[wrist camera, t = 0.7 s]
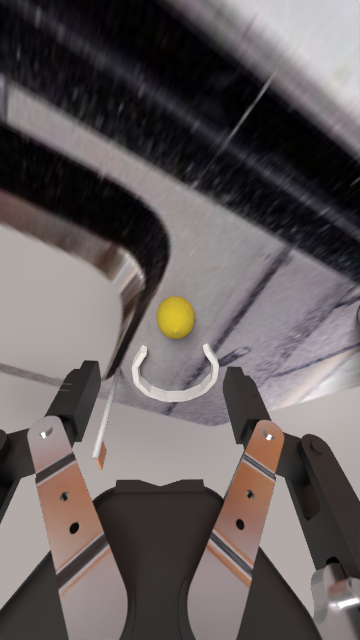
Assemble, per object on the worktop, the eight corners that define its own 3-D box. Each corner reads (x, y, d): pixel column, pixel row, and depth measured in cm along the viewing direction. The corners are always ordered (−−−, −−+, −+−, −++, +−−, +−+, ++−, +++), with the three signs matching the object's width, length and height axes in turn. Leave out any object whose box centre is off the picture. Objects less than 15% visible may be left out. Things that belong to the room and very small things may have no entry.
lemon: (177, 323, 37) (180, 355, 30) (150, 306, 35) (146, 336, 28) (199, 300, 34) (206, 329, 28) (171, 281, 32) (172, 306, 26)
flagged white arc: (218, 343, 39) (245, 426, 26) (212, 392, 47) (230, 477, 33) (111, 345, 38) (81, 433, 25) (122, 395, 46) (103, 484, 32)
